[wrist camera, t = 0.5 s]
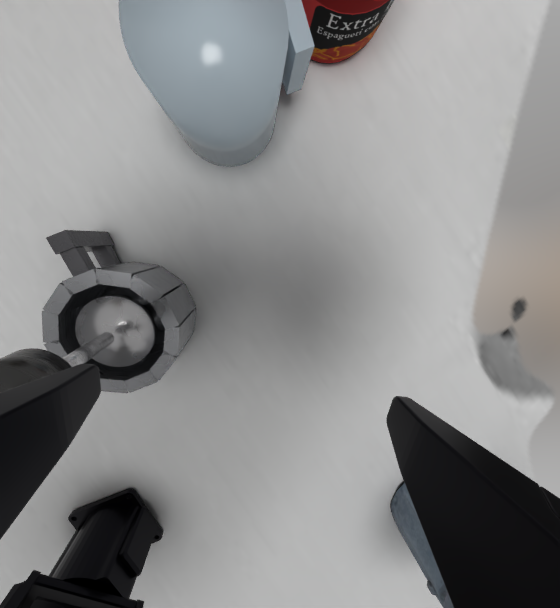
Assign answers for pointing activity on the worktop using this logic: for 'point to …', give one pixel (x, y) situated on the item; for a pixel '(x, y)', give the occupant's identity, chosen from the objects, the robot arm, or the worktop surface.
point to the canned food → (342, 26)
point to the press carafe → (117, 281)
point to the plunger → (89, 342)
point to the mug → (219, 67)
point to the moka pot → (418, 543)
